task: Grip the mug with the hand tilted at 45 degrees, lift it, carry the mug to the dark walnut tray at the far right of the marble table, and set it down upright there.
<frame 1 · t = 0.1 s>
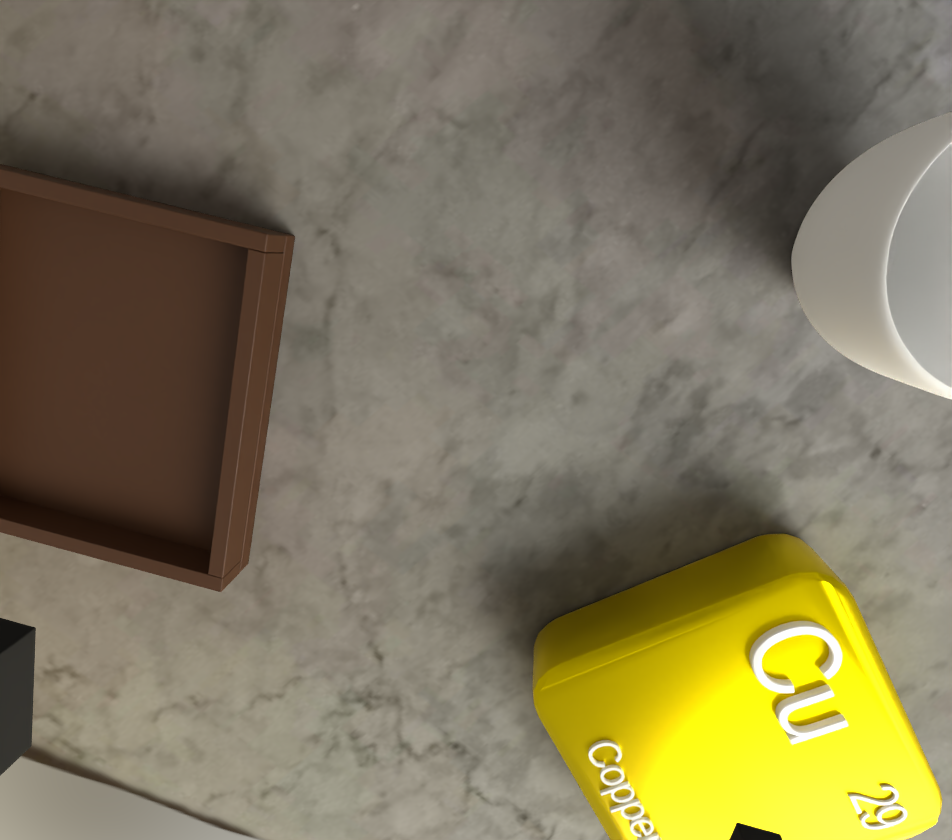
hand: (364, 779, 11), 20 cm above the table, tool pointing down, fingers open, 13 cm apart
mug: (877, 275, 27), on the table
tray: (134, 377, 32), on the table
element tile: (710, 689, 33), on the table
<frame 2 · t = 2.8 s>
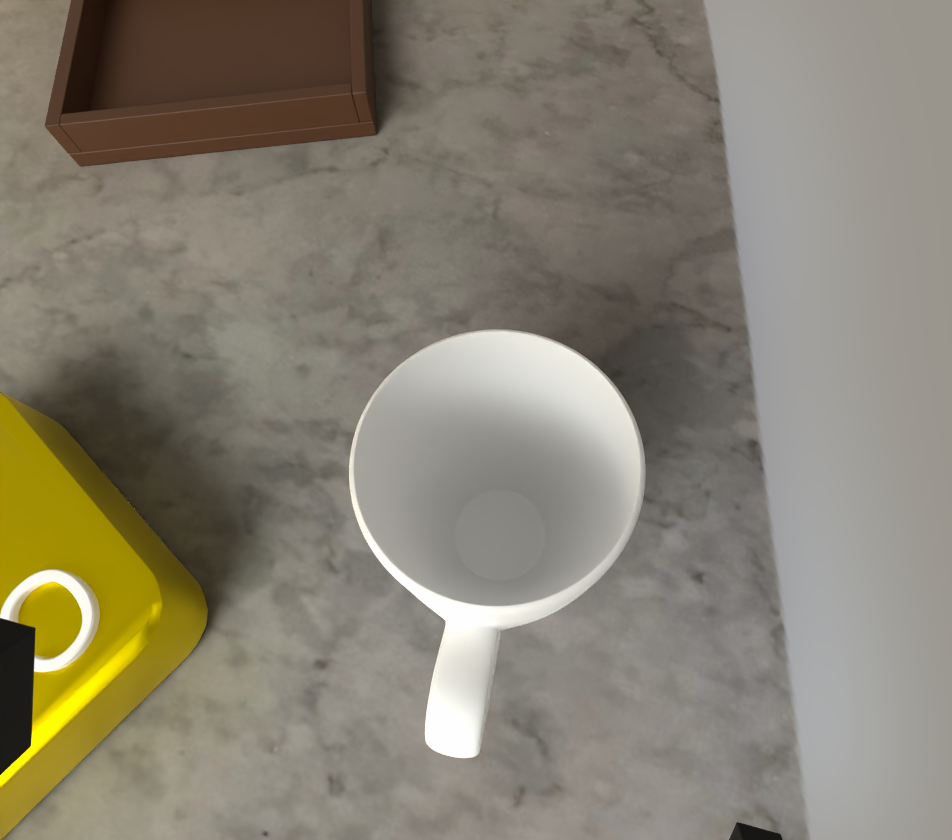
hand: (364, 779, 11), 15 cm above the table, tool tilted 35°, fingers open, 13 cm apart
mug: (492, 577, 27), on the table
tray: (234, 61, 39), on the table
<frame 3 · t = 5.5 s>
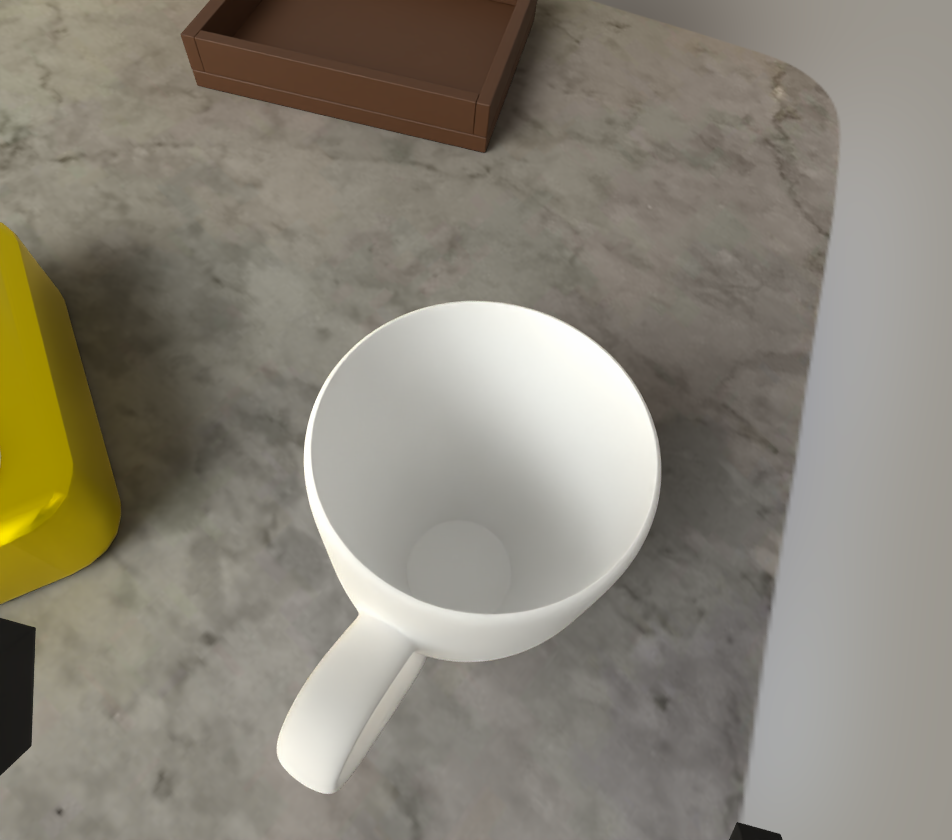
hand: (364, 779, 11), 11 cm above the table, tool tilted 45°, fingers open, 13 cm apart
mug: (434, 615, 23), on the table
tray: (378, 50, 40), on the table
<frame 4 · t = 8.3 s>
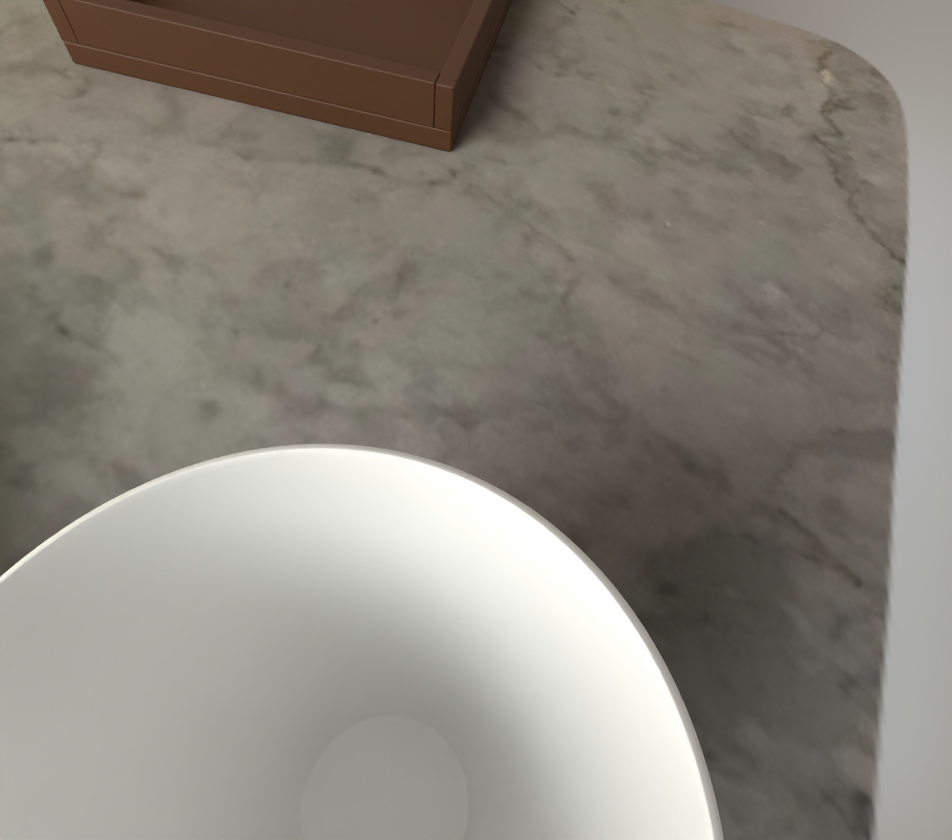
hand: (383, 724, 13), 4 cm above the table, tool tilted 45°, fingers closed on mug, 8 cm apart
tray: (318, 20, 31), on the table
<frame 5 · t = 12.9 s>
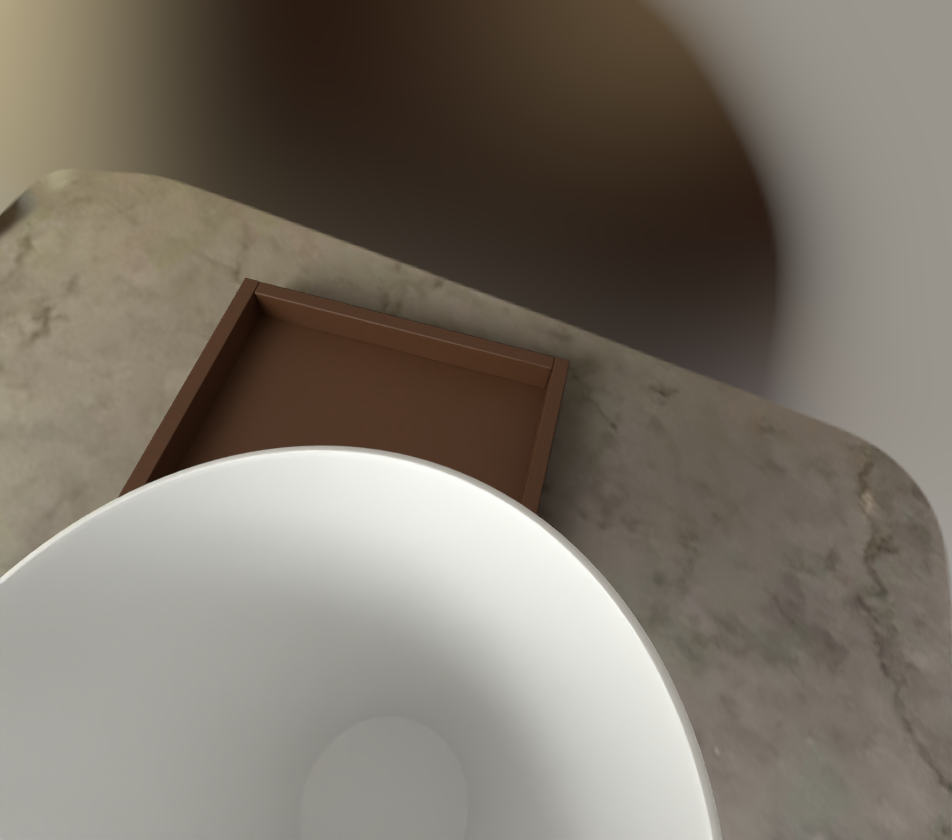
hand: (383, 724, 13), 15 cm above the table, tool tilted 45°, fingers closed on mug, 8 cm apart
tray: (363, 465, 31), on the table
when the fingers open (5 cm above the table, at t = 18.0 s): mug stays where it is, resting on tray.
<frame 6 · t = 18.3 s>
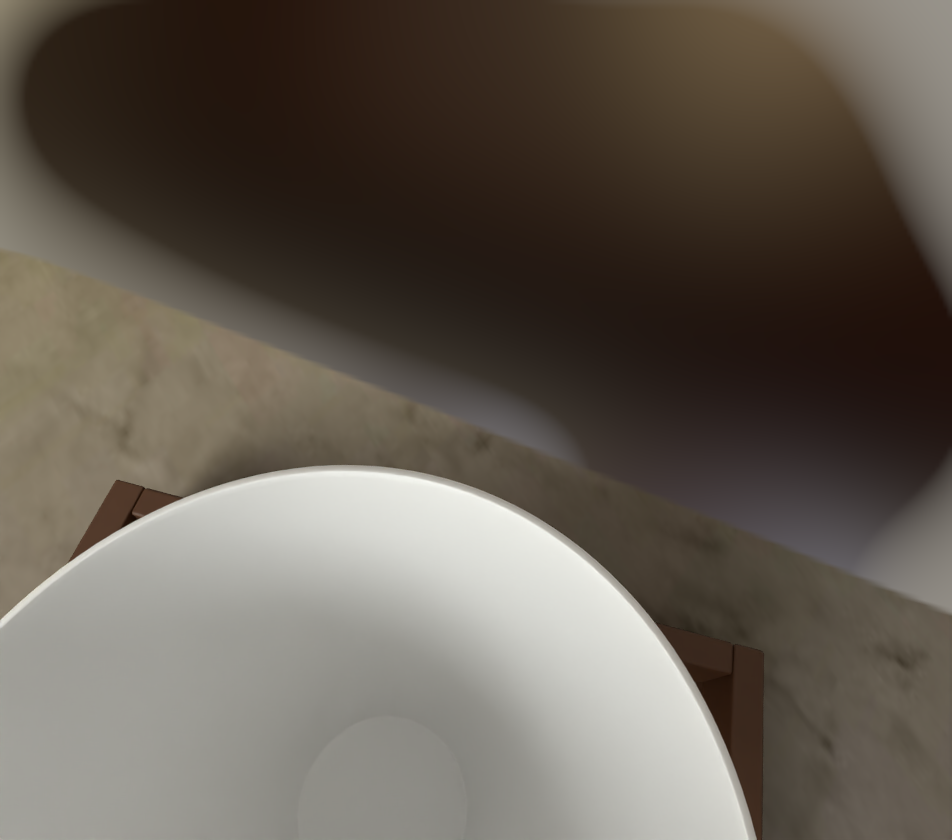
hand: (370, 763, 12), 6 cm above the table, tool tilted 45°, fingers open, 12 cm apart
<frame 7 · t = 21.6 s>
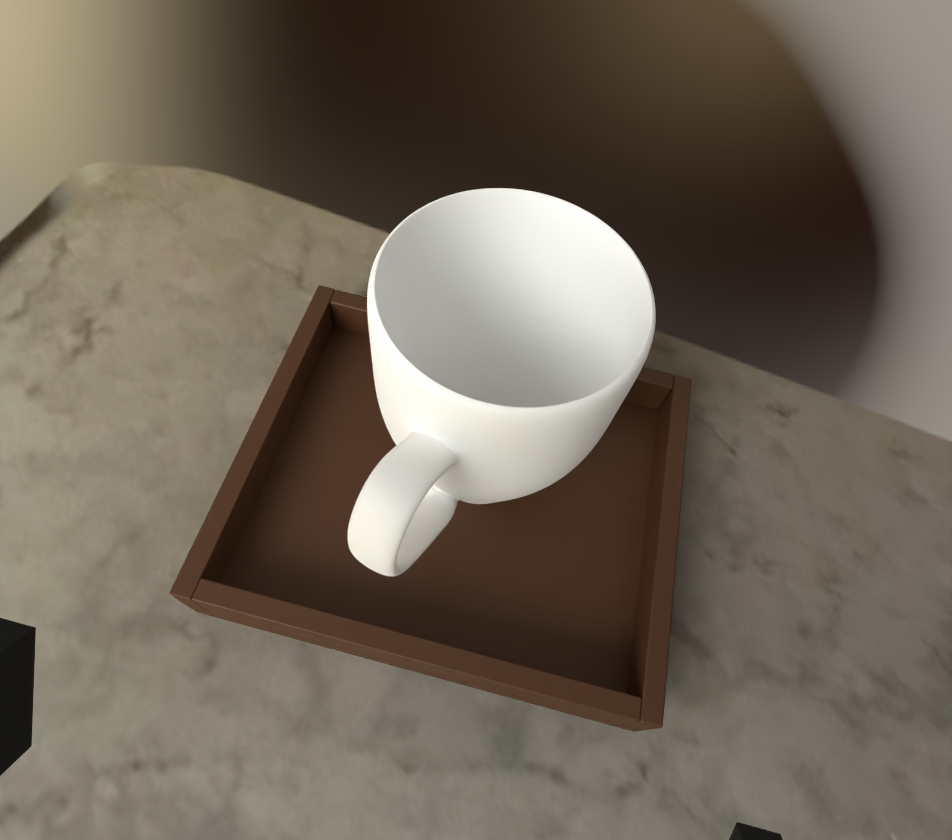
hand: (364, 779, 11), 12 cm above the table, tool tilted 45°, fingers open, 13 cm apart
mug: (456, 494, 27), point 1 cm above the table, touching tray
tray: (459, 499, 27), on the table
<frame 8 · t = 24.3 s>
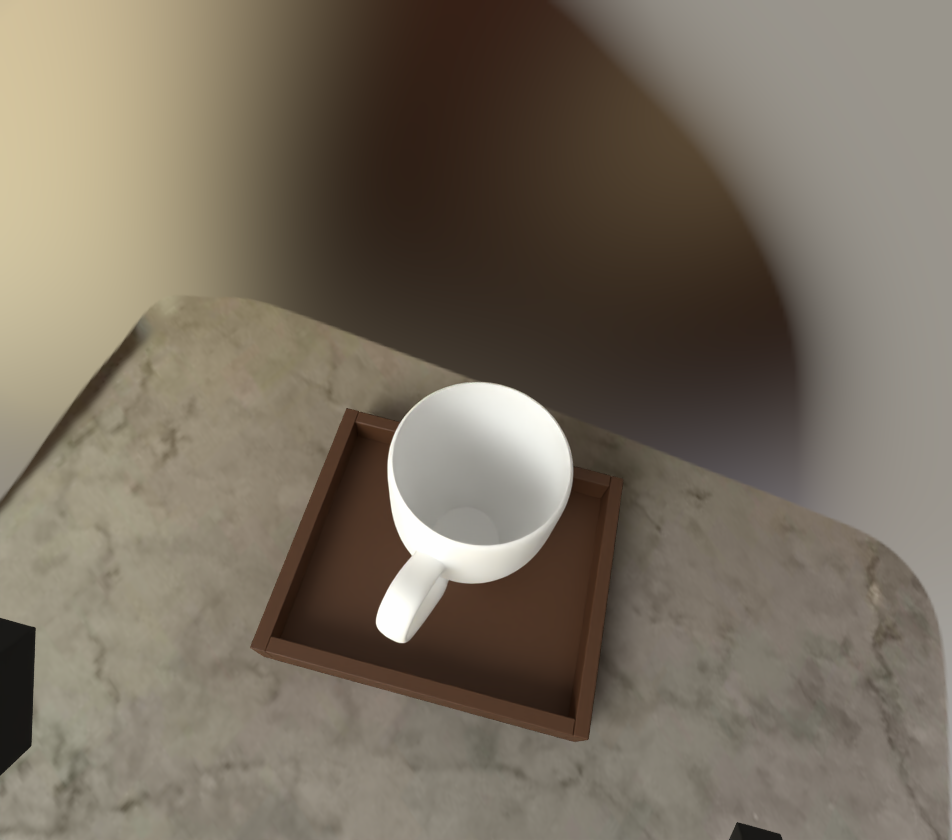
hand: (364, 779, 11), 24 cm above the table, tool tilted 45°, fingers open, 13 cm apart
mug: (449, 567, 36), point 1 cm above the table, touching tray
tray: (451, 569, 37), on the table
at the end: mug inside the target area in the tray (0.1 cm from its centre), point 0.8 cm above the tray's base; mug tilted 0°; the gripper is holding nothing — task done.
